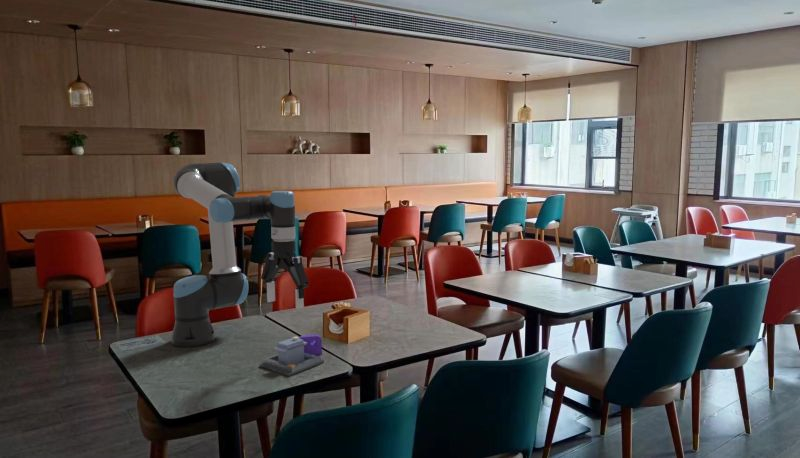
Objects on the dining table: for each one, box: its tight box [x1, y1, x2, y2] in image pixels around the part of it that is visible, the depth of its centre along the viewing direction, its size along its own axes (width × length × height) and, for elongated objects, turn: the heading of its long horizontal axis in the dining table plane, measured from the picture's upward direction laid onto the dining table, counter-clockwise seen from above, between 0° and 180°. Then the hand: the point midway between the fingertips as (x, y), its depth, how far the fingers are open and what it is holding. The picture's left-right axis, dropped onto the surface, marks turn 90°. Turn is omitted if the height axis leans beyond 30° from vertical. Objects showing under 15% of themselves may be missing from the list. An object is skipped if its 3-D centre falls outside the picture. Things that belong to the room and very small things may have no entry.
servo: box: [273, 336, 307, 365], centre depth 194 cm, size 4×10×8 cm, turn 142°
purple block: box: [299, 334, 323, 356], centre depth 209 cm, size 12×7×7 cm, turn 16°
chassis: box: [258, 352, 325, 377], centre depth 194 cm, size 14×15×3 cm
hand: (285, 304), depth 194 cm, fingers open, 13 cm apart
